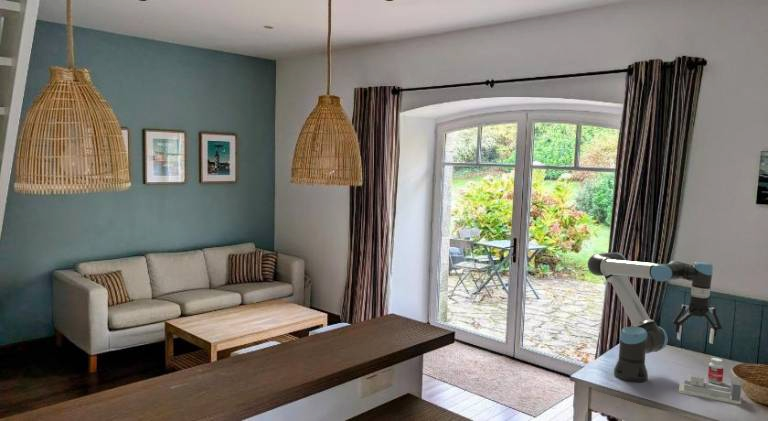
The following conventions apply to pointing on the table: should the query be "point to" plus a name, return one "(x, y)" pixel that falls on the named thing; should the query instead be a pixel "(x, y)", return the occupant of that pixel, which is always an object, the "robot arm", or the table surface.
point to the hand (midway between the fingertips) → (694, 341)
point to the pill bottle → (715, 371)
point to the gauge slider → (698, 380)
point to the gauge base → (714, 391)
